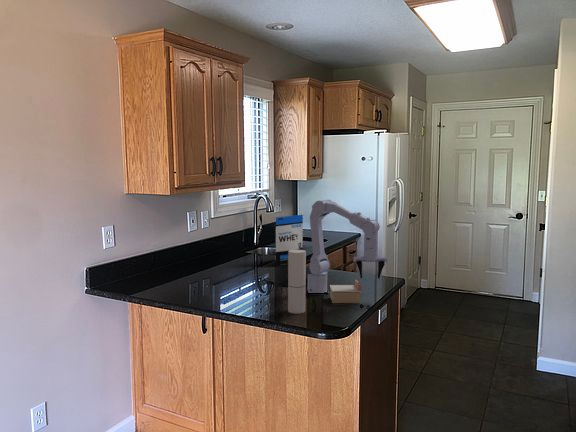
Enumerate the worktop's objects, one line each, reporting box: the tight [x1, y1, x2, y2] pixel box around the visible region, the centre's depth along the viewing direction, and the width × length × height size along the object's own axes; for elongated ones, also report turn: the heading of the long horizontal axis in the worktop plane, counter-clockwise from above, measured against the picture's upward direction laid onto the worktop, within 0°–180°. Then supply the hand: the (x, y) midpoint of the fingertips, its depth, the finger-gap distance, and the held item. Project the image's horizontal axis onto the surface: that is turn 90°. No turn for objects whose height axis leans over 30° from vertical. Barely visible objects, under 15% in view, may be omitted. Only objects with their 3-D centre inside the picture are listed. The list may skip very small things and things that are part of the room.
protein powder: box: [275, 214, 304, 268], centre depth 294 cm, size 10×24×30 cm, turn 137°
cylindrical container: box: [287, 249, 307, 314], centre depth 197 cm, size 7×7×25 cm
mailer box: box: [329, 287, 361, 304], centre depth 213 cm, size 12×10×5 cm
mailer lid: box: [329, 279, 362, 293], centre depth 213 cm, size 12×10×3 cm
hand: (369, 277), depth 213 cm, fingers open, 7 cm apart
